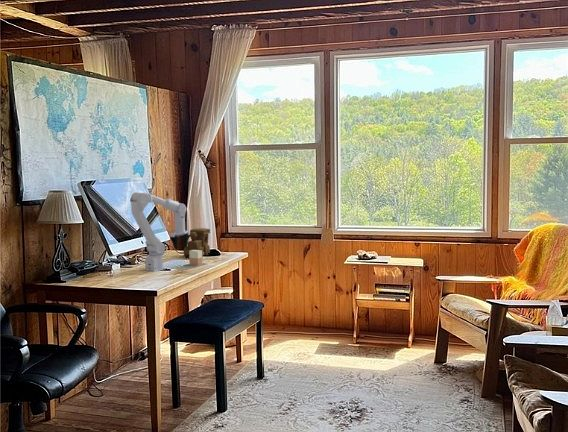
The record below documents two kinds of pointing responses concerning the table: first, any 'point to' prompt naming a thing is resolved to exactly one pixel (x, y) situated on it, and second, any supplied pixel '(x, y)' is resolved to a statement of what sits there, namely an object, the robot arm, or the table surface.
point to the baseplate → (185, 267)
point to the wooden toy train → (198, 241)
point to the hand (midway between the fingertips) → (180, 248)
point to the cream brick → (195, 254)
